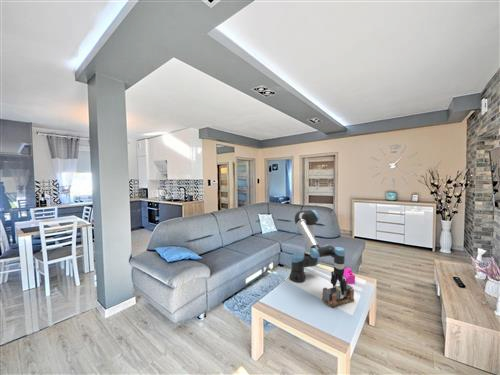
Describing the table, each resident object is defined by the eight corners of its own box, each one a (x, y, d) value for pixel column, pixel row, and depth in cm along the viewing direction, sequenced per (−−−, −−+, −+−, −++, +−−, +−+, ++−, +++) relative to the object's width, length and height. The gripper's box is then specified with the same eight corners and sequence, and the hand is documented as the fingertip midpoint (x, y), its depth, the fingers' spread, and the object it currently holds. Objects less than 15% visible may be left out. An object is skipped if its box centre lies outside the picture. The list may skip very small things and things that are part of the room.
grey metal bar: (329, 302, 158) (329, 294, 157) (323, 297, 164) (323, 289, 163) (352, 294, 167) (352, 287, 167) (346, 290, 173) (346, 283, 172)
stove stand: (322, 299, 166) (322, 288, 166) (342, 293, 175) (343, 282, 174) (332, 308, 156) (332, 296, 156) (354, 301, 165) (354, 289, 164)
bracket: (348, 278, 201) (349, 267, 200) (354, 283, 190) (355, 272, 190) (336, 278, 200) (336, 268, 199) (342, 284, 190) (342, 273, 189)
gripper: (326, 263, 171) (325, 290, 173) (345, 273, 153) (344, 304, 155) (333, 261, 174) (332, 288, 176) (352, 272, 156) (351, 301, 158)
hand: (338, 295), depth 165 cm, fingers closed on grey metal bar, 6 cm apart
